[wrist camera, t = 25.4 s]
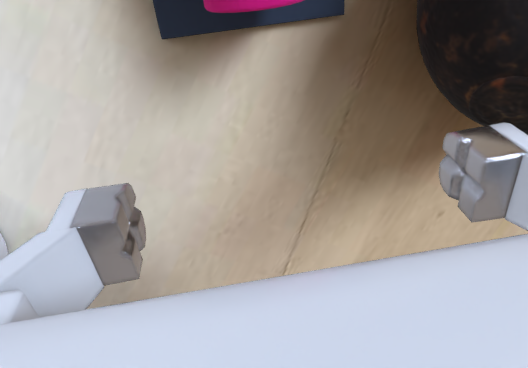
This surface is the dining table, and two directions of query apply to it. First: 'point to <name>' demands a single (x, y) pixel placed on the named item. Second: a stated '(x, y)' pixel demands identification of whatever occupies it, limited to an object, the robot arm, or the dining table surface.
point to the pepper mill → (244, 5)
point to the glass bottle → (478, 56)
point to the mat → (234, 16)
